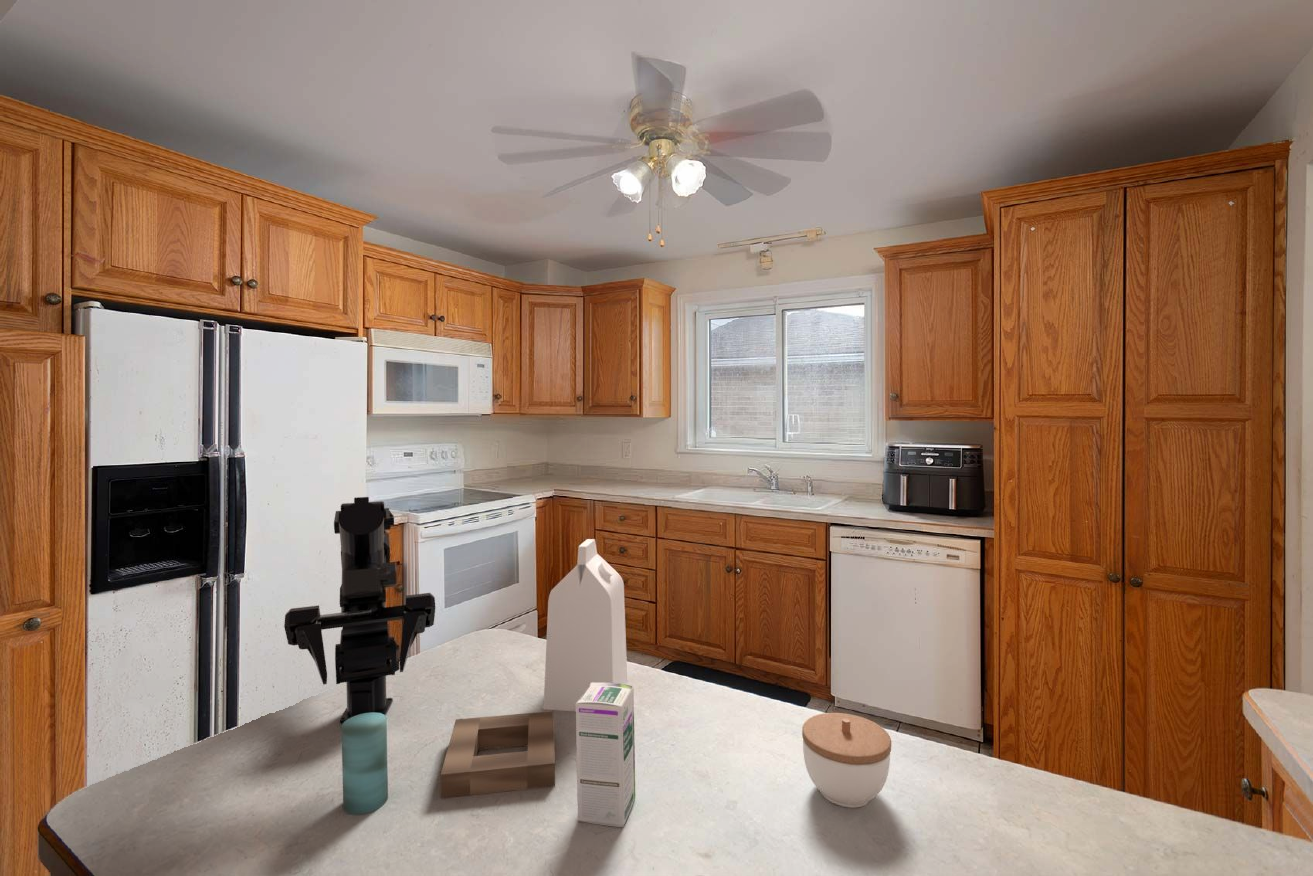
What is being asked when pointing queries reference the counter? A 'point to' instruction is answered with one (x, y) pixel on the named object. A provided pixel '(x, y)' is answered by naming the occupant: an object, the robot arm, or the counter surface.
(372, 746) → the teal peg
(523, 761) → the walnut socket block
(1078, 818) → the counter surface
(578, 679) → the milk
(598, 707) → the syrup box
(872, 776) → the lidded jar
